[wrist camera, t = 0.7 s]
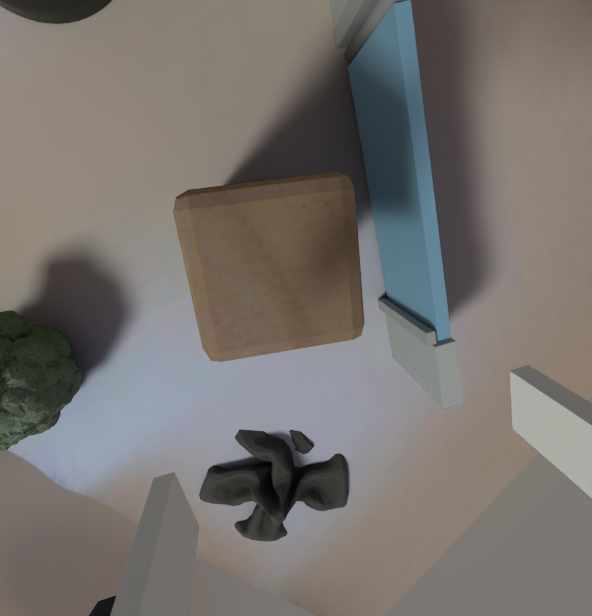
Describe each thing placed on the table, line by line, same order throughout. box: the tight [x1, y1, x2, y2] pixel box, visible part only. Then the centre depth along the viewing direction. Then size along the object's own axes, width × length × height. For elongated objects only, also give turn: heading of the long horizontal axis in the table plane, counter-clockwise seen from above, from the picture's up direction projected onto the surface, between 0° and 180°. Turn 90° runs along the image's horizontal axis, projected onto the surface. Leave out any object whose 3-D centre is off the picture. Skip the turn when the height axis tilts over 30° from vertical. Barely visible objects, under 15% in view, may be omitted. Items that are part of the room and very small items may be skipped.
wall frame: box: [330, 0, 463, 409], centre depth 33 cm, size 41×3×13 cm, turn 14°
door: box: [345, 0, 451, 341], centre depth 33 cm, size 27×3×12 cm, turn 14°
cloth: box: [199, 430, 348, 541], centre depth 45 cm, size 22×19×6 cm
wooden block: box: [173, 172, 364, 362], centre depth 29 cm, size 10×10×20 cm
